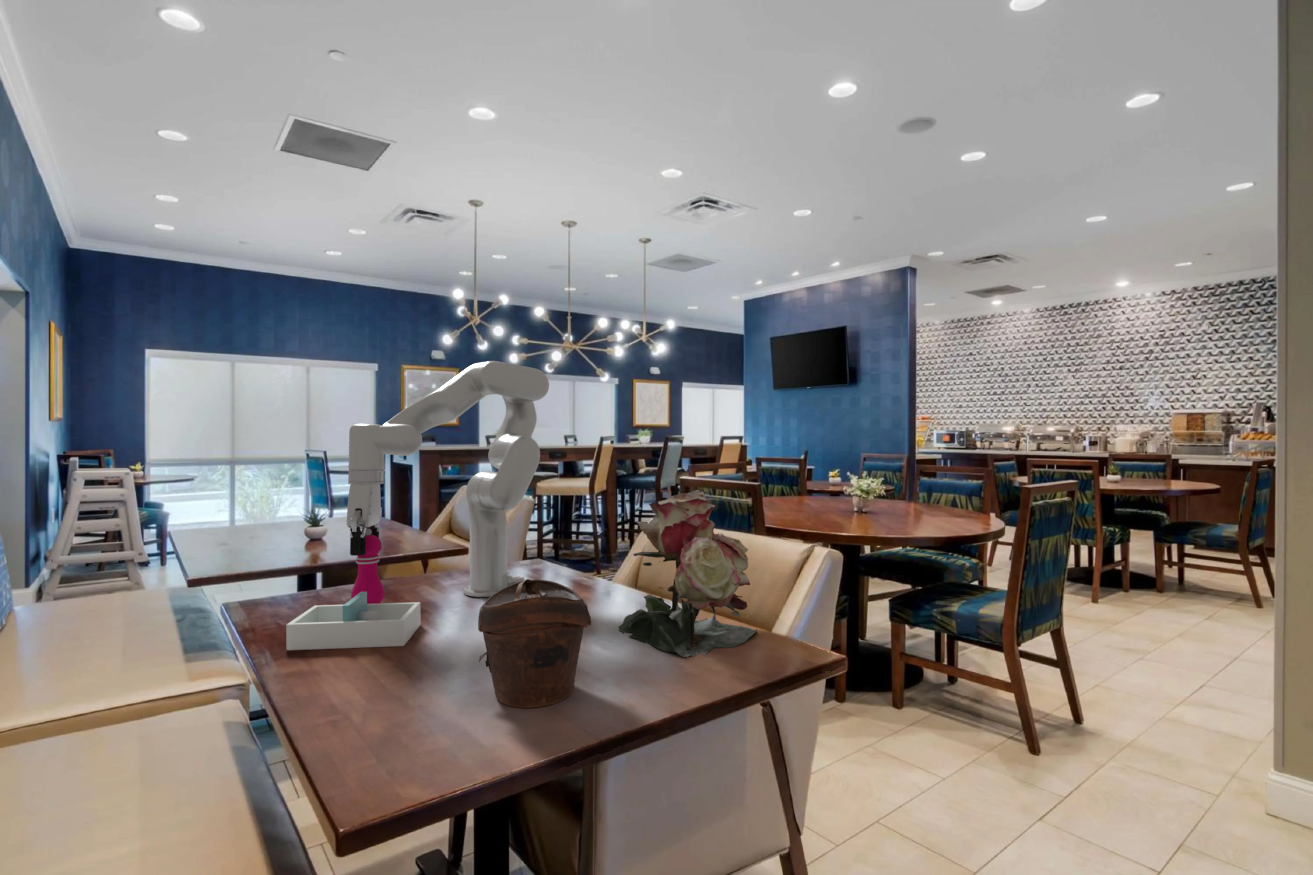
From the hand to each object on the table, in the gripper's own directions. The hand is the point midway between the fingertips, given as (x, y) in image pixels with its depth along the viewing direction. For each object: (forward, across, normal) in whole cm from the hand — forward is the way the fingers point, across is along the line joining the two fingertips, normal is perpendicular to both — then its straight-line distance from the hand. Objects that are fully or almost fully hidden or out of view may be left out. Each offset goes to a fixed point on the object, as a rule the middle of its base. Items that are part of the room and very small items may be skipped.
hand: (364, 551), depth 153 cm
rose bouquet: (+14, +22, +74) cm, 78 cm away
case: (+15, +49, +42) cm, 66 cm away
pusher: (+14, +16, +5) cm, 22 cm away
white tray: (+15, +16, +4) cm, 22 cm away
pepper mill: (+15, -1, +1) cm, 15 cm away
